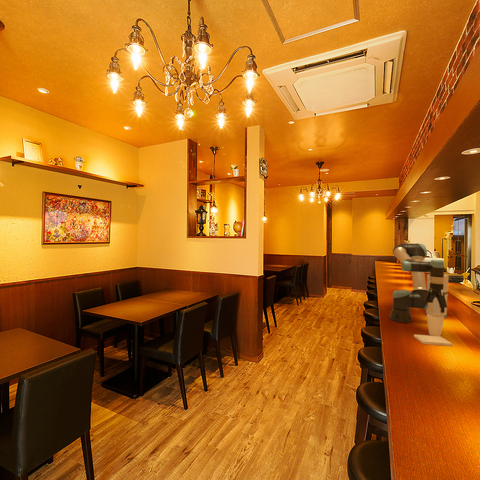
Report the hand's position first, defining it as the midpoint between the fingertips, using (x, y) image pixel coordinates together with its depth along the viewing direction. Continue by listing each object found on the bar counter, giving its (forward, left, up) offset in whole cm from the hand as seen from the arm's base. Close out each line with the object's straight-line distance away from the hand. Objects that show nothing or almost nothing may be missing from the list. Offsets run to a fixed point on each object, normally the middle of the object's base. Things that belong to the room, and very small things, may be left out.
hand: (435, 314), depth 181 cm
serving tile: (+13, -8, -14) cm, 20 cm away
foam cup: (0, 0, -14) cm, 14 cm away
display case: (-49, +26, -14) cm, 58 cm away
